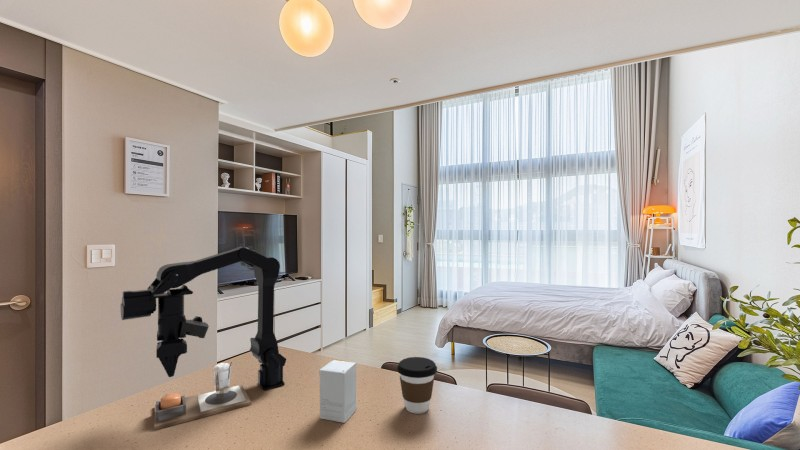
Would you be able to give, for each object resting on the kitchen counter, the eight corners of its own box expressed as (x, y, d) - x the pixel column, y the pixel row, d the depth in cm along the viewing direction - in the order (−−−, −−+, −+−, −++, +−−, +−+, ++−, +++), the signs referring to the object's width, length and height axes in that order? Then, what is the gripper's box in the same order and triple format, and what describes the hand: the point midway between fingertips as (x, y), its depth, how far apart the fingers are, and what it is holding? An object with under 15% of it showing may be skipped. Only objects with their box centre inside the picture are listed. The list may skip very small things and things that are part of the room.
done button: (180, 402, 95) (180, 391, 95) (181, 409, 92) (181, 398, 92) (160, 407, 93) (160, 396, 93) (160, 415, 89) (160, 403, 89)
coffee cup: (445, 407, 97) (445, 363, 97) (419, 423, 89) (419, 375, 89) (414, 394, 104) (414, 353, 104) (388, 408, 96) (388, 363, 96)
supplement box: (357, 409, 95) (357, 362, 96) (344, 424, 88) (344, 373, 89) (333, 405, 98) (333, 359, 98) (318, 418, 91) (318, 369, 91)
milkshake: (225, 401, 98) (226, 365, 98) (209, 399, 99) (209, 363, 99) (236, 393, 102) (237, 359, 102) (220, 392, 103) (220, 357, 103)
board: (242, 386, 109) (242, 376, 109) (251, 404, 98) (251, 393, 98) (154, 407, 96) (154, 395, 96) (154, 430, 86) (154, 416, 86)
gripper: (210, 316, 89) (210, 378, 89) (202, 303, 105) (202, 356, 105) (156, 323, 83) (156, 390, 83) (157, 307, 98) (156, 364, 98)
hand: (171, 373), depth 92 cm, fingers open, 5 cm apart
